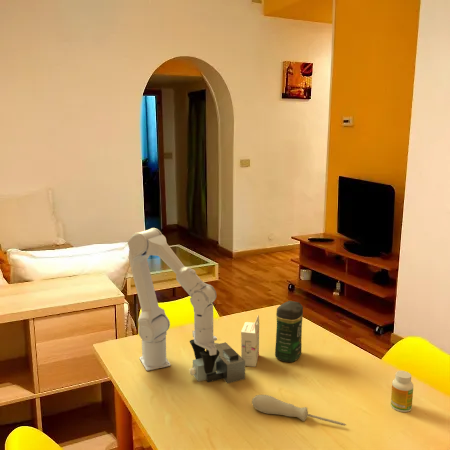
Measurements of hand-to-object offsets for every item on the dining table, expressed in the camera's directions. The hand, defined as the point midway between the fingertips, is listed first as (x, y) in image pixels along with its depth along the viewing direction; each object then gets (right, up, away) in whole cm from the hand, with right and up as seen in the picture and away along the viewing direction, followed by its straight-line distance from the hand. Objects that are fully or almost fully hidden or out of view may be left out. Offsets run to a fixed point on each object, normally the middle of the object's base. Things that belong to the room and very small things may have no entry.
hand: (204, 367), depth 143 cm
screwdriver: (+25, -7, -21) cm, 34 cm away
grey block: (0, -3, +1) cm, 3 cm away
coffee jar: (+28, -1, +13) cm, 31 cm away
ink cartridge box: (+15, -1, +10) cm, 18 cm away
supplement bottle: (+54, -6, -16) cm, 57 cm away
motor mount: (+4, -2, +3) cm, 6 cm away
